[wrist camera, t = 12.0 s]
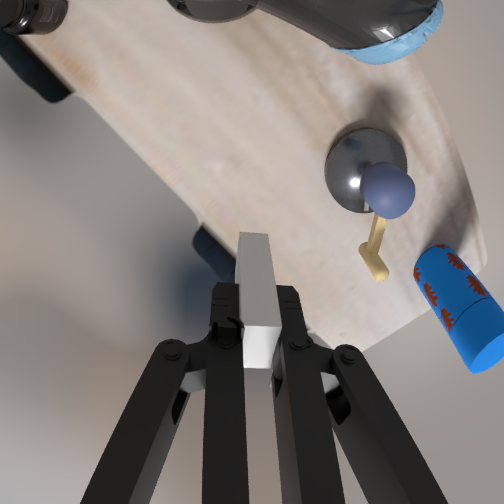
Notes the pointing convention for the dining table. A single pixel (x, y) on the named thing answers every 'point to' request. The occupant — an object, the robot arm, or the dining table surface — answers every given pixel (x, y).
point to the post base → (359, 164)
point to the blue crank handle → (383, 208)
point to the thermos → (462, 307)
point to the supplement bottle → (31, 16)
